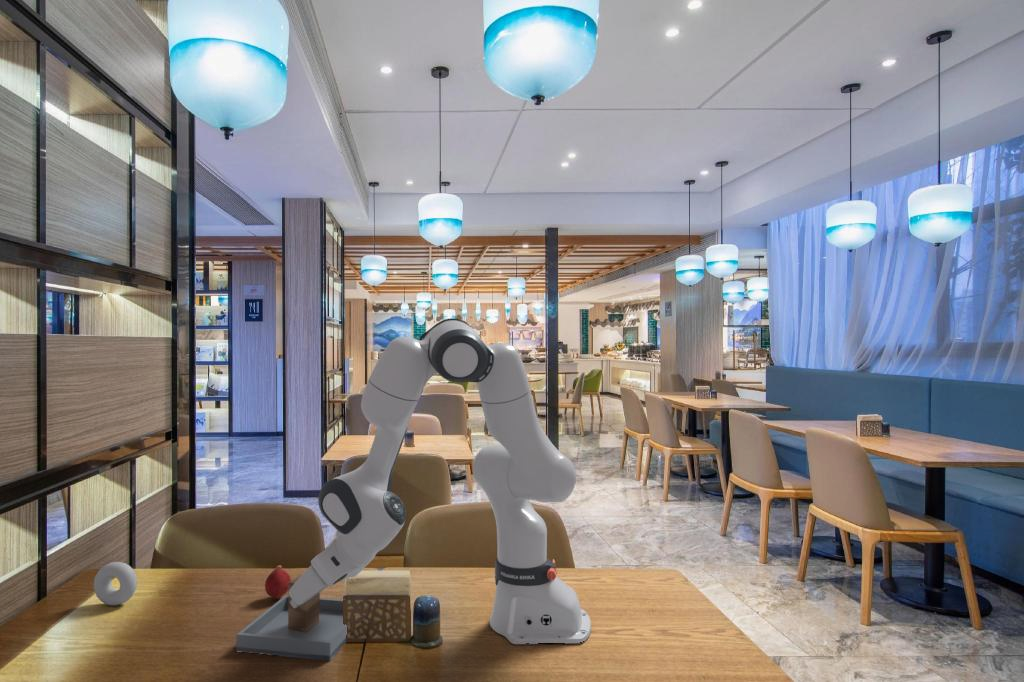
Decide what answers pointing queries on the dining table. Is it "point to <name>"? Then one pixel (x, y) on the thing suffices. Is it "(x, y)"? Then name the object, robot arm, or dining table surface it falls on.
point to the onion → (277, 583)
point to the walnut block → (303, 613)
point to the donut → (105, 588)
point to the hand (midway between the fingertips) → (308, 594)
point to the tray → (295, 633)
